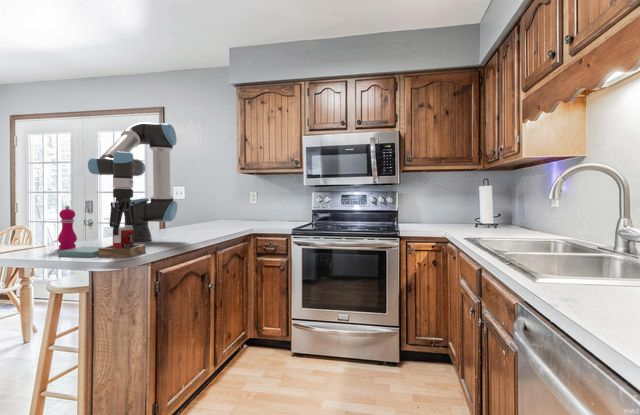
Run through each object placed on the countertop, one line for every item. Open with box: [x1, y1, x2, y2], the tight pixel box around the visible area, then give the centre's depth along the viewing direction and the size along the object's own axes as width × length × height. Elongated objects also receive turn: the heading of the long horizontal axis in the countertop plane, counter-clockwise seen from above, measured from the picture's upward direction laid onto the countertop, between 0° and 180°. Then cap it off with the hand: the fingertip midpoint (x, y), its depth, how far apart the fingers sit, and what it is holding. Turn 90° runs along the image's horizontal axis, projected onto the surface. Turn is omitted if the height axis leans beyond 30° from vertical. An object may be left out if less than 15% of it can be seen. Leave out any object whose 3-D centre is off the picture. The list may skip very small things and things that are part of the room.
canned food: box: [112, 226, 134, 249], centre depth 152 cm, size 8×8×11 cm
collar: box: [98, 243, 146, 258], centre depth 151 cm, size 13×13×4 cm
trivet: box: [58, 245, 103, 258], centre depth 151 cm, size 14×14×2 cm
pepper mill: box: [57, 205, 78, 250], centre depth 163 cm, size 7×7×20 cm
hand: (123, 241), depth 152 cm, fingers closed on canned food, 8 cm apart
